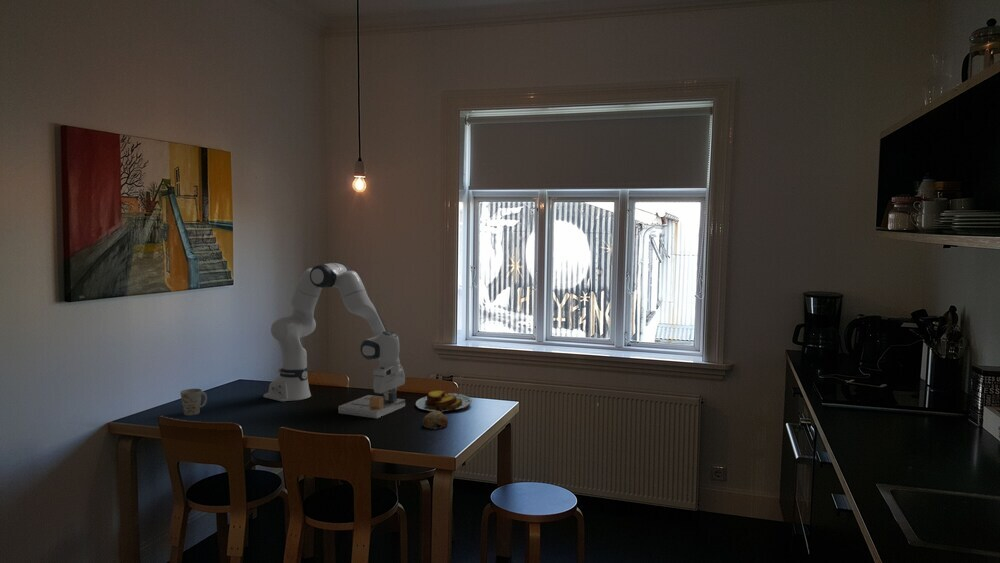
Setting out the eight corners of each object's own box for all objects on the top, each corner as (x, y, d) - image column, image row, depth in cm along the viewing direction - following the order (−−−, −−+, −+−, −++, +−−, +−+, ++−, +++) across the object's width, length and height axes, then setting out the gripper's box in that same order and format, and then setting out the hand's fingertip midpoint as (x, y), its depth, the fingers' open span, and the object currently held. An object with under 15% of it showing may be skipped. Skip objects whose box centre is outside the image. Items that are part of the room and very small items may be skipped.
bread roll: (425, 438, 265) (428, 422, 262) (418, 421, 273) (421, 406, 270) (448, 435, 269) (451, 419, 266) (441, 418, 277) (444, 403, 274)
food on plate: (480, 410, 294) (480, 395, 294) (428, 417, 283) (427, 402, 282) (457, 397, 317) (457, 383, 316) (408, 403, 305) (407, 389, 305)
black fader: (383, 401, 295) (383, 392, 295) (387, 399, 298) (387, 390, 298) (392, 402, 293) (392, 393, 293) (396, 401, 296) (396, 392, 296)
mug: (176, 415, 284) (175, 392, 283) (199, 407, 296) (198, 385, 295) (191, 417, 281) (191, 393, 280) (214, 409, 293) (213, 387, 292)
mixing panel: (338, 413, 288) (338, 406, 288) (368, 401, 308) (368, 394, 308) (376, 418, 280) (376, 411, 279) (405, 406, 300) (405, 399, 299)
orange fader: (369, 406, 286) (369, 397, 286) (373, 405, 289) (373, 395, 289) (379, 408, 284) (379, 398, 284) (383, 406, 287) (383, 397, 287)
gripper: (396, 363, 305) (396, 392, 306) (370, 371, 287) (370, 403, 288) (408, 364, 303) (408, 394, 304) (382, 373, 284) (383, 404, 285)
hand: (390, 398), depth 296 cm, fingers closed on black fader, 3 cm apart
